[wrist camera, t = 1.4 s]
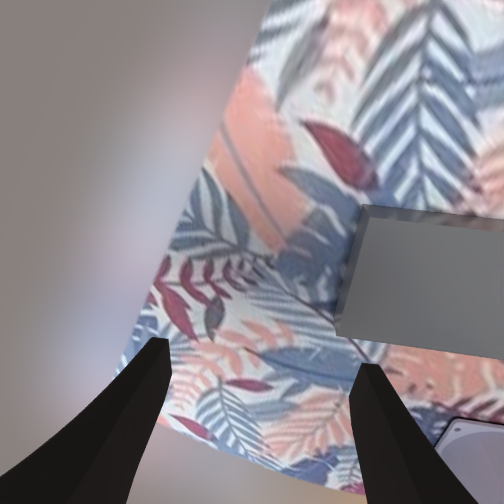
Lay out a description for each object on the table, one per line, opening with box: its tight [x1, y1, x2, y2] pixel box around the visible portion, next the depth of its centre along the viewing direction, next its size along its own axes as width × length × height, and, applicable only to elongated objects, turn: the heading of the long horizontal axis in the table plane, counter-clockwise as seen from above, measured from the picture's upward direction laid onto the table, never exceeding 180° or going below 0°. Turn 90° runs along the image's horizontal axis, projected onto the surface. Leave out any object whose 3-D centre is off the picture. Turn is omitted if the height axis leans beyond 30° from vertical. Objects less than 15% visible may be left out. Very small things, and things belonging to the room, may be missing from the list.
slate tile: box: [334, 204, 504, 360], centre depth 20 cm, size 9×12×2 cm
